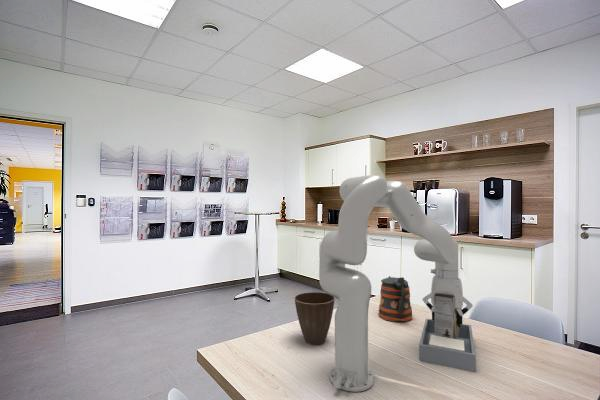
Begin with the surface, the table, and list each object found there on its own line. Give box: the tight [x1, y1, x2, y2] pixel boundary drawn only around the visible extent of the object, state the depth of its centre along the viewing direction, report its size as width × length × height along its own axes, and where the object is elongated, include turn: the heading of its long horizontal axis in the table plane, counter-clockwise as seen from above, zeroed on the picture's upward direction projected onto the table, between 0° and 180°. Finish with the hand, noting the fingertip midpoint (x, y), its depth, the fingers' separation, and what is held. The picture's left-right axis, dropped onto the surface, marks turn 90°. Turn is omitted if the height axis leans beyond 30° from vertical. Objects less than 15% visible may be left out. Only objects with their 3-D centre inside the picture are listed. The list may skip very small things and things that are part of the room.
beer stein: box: [378, 275, 413, 323], centre depth 138 cm, size 19×15×20 cm
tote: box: [418, 318, 477, 373], centre depth 107 cm, size 26×16×6 cm, turn 154°
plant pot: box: [294, 291, 336, 346], centre depth 116 cm, size 15×15×16 cm
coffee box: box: [434, 294, 459, 339], centre depth 111 cm, size 9×6×16 cm
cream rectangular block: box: [429, 335, 465, 352], centre depth 101 cm, size 8×10×5 cm
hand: (446, 323), depth 110 cm, fingers closed on coffee box, 7 cm apart
